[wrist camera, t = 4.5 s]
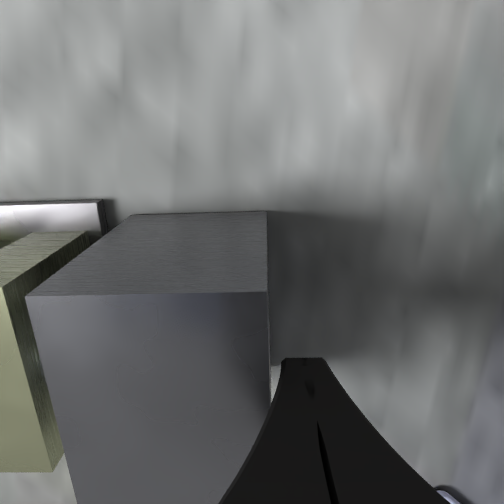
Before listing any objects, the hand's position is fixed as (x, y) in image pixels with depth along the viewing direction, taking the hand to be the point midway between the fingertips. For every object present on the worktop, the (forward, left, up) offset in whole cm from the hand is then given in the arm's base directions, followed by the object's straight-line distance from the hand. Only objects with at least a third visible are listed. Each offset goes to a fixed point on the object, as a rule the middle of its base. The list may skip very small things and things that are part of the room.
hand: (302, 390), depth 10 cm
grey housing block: (+2, +2, -6) cm, 7 cm away
